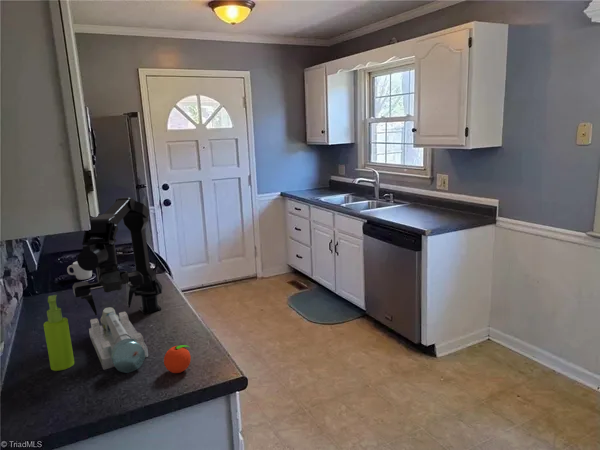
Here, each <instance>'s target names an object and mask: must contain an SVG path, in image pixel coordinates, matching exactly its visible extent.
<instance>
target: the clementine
mask: <svg viewBox="0 0 600 450" xmlns="http://www.w3.org/2000/svg"><path fill="white" fill-rule="evenodd" d="M187 347H188V348H191V350H193V348H192V347H191V346H189V345H187V344H183V345H182V344H181V345H175V346H172V347H170V348H169V349H168V350H167V351H166V353H165V354H164V357H163V363H164V367H165V368H166V370H167V371H169V372H170V373H173V374H181V373H182V372H184V371H185V370H187V369H188V367H189V366H190V364H191V359H192V356H191V353H190V351H189V350H188V349H187Z"/></svg>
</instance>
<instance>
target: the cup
mask: <svg viewBox="0 0 600 450" xmlns="http://www.w3.org/2000/svg"><path fill="white" fill-rule="evenodd" d="M70 268H71V269H73V272H71V271H70ZM66 271H67V273H68V275H69V276H75V278H76V279H77V280H78V281H79V280H80V281H81V280H82V281H83V280H84V281H86V280H88V279H91V278H92V275H93V270H91V271H86V270H83V269H82V268H81V267H80V266H79V265H78V262H77V260H76V261H74V262H72V264H71V265H68V267H67V268H66Z"/></svg>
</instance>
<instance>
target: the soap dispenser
mask: <svg viewBox="0 0 600 450" xmlns="http://www.w3.org/2000/svg"><path fill="white" fill-rule="evenodd" d="M57 296H58V295H57V294H53V295H48V297H47V304H48V305H49V309H47V310H46V317H47V321H45V322H44V323H43V331H44V337H45V342H46V348H47V352H48V353H47V354H48V360H49V366H50V369H51V371H53V372H57V371H64V370H66V369H69V368H71V367H73V366H74V365H75V357H74V351H73V346H72V344H73V343H72V337H71V332H70V326H69V319H68V318H67V317H63V315H62V308H61V307H58V306H57V298H58V297H57Z"/></svg>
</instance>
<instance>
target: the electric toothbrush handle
mask: <svg viewBox="0 0 600 450" xmlns="http://www.w3.org/2000/svg"><path fill="white" fill-rule="evenodd" d="M99 321H100V322H99V323H100V325H102V327H103V329H104V328H105V329H106V330H110V331H111V333H112V335H113V338H114V340H115V345H116V344H117V343H118V342H119V341H121V340H123V339H128V338H130V339H131V336H130V335H128V333H127V332H126V330H125V329H124V327H123V326H122V324H121V323H120V318H119V314H117V313H116V310H115V309H114V307H111V306H109V307H105V308H104V309H103V310H102V315H101V317H100V319H99Z"/></svg>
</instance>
